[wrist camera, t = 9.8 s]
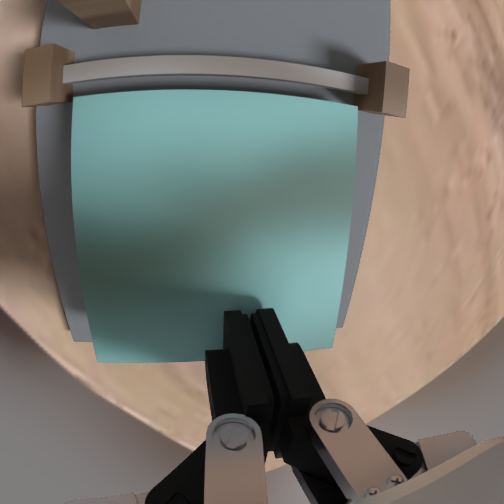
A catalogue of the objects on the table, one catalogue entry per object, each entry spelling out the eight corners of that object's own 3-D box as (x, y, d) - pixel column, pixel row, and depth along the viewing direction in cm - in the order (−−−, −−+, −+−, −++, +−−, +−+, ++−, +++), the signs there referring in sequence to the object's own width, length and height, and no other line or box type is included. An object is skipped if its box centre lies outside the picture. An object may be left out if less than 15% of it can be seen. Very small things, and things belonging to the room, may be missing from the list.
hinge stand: (366, 112, 11) (441, 124, 7) (53, 105, 9) (-10, 109, 5) (372, 3, 9) (442, -21, 5) (67, -16, 7) (21, -60, 3)
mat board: (338, 320, 16) (342, 327, 15) (76, 333, 13) (73, 341, 12) (381, -41, 8) (388, -45, 7) (70, -65, 5) (66, -71, 5)
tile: (357, 106, 9) (346, 109, 10) (73, 97, 7) (81, 101, 8) (332, 347, 12) (324, 337, 13) (97, 362, 10) (101, 349, 11)
